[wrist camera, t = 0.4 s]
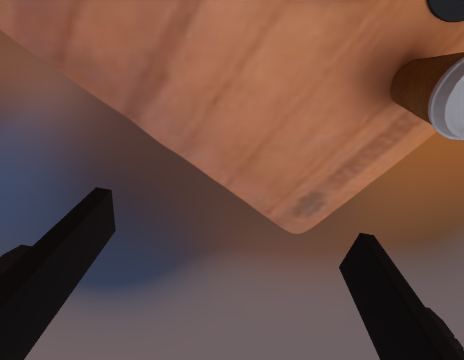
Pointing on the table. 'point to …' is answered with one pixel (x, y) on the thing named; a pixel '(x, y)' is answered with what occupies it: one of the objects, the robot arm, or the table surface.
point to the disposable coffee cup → (434, 92)
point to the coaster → (447, 9)
